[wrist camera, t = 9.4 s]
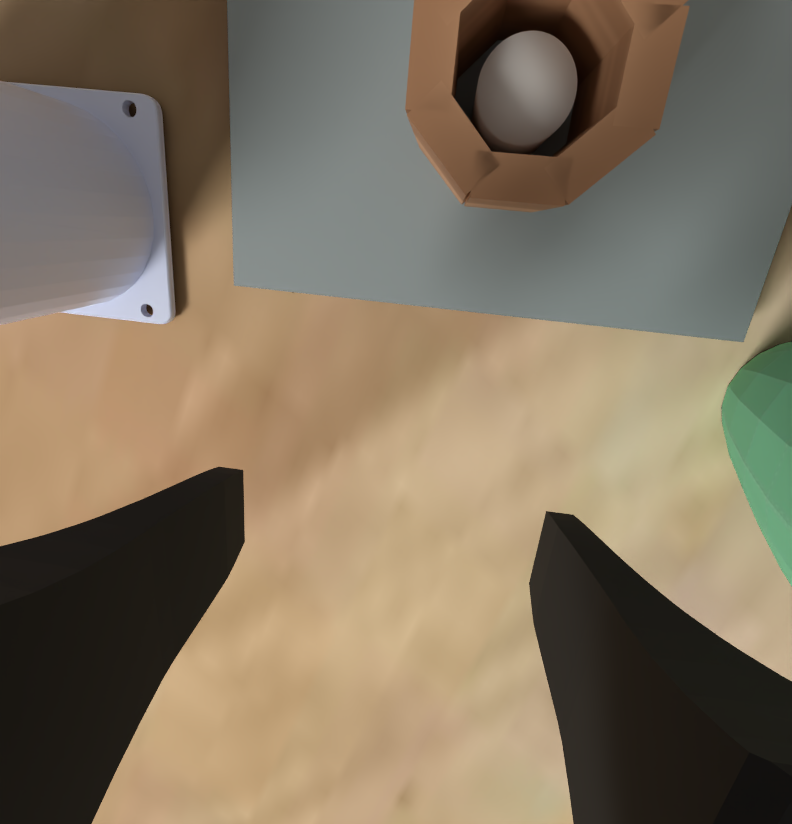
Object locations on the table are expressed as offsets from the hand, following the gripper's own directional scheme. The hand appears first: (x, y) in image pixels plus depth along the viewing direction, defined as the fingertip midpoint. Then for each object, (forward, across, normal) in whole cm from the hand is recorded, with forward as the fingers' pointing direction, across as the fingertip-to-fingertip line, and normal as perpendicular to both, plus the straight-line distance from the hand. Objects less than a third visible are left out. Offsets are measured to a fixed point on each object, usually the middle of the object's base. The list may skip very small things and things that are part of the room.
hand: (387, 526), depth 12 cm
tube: (+8, -2, -10) cm, 13 cm away
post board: (+9, -2, -10) cm, 14 cm away
